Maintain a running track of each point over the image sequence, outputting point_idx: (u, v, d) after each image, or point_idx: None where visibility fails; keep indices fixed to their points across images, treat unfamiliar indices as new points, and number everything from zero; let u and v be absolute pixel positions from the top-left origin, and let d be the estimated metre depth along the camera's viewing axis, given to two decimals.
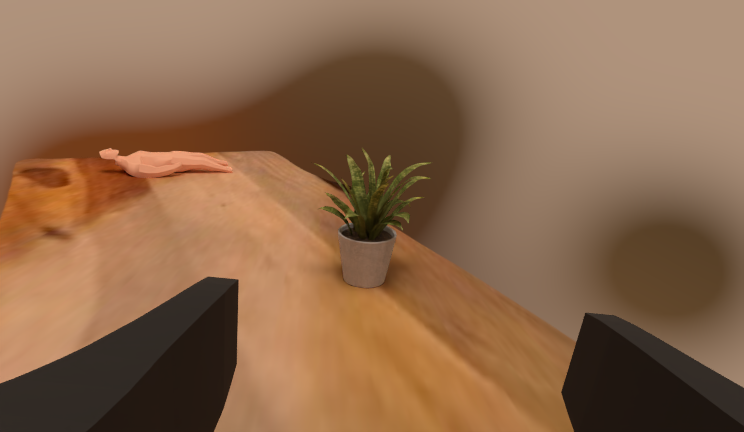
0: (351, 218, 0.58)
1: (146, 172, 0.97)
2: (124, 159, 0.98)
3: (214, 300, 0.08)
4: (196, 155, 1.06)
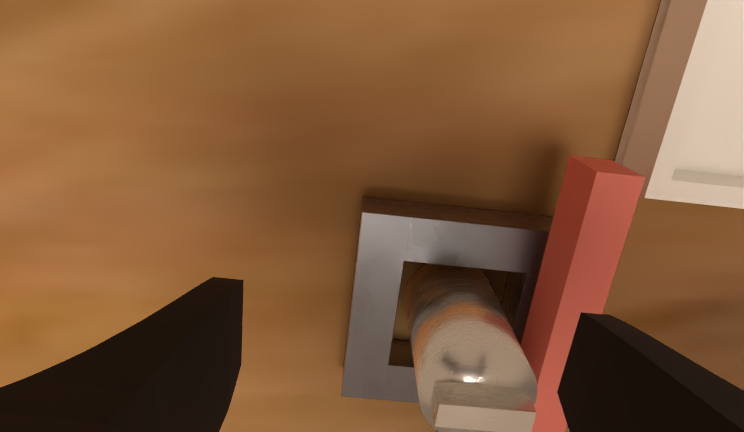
0: None
1: None
2: None
3: (219, 302, 0.08)
4: None
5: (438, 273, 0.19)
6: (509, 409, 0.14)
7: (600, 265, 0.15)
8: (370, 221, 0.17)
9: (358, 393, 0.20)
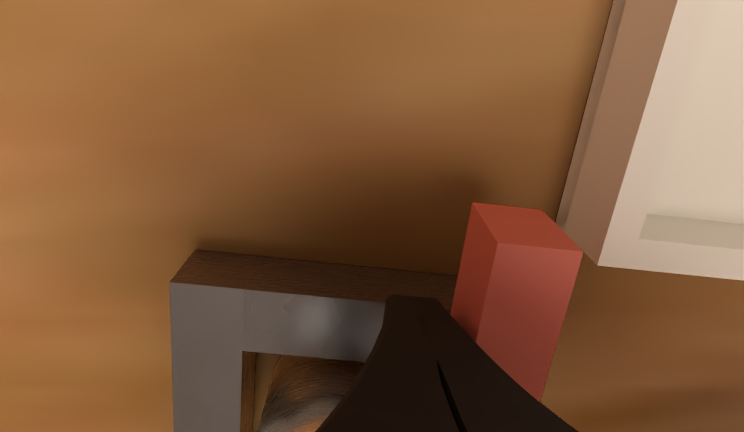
0: None
1: None
2: None
3: (430, 321, 0.08)
4: None
5: (304, 363, 0.13)
6: None
7: None
8: (183, 295, 0.11)
9: None
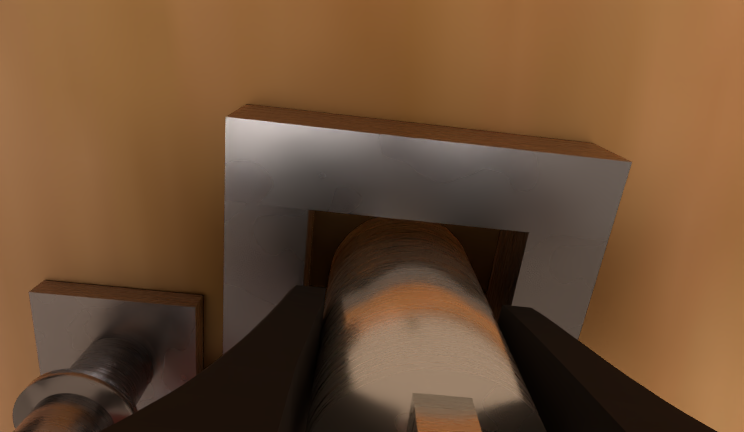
0: None
1: None
2: None
3: (317, 310, 0.08)
4: None
5: None
6: None
7: None
8: (612, 176, 0.10)
9: (235, 152, 0.10)
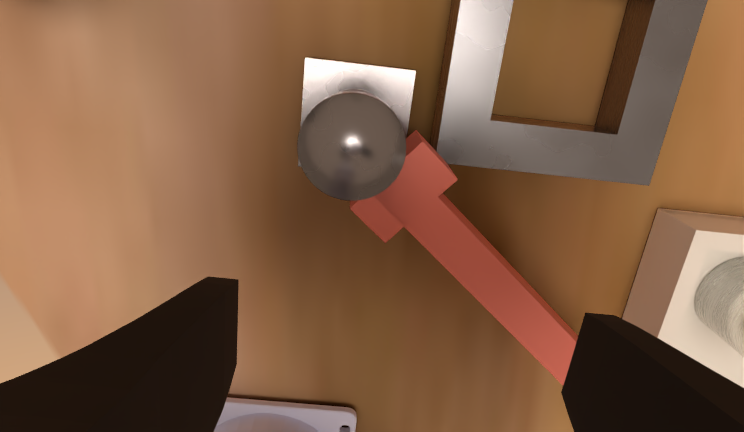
0: None
1: None
2: None
3: (214, 300, 0.08)
4: None
5: None
6: None
7: None
8: None
9: None
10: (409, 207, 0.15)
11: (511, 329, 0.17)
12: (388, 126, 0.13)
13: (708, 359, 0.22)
